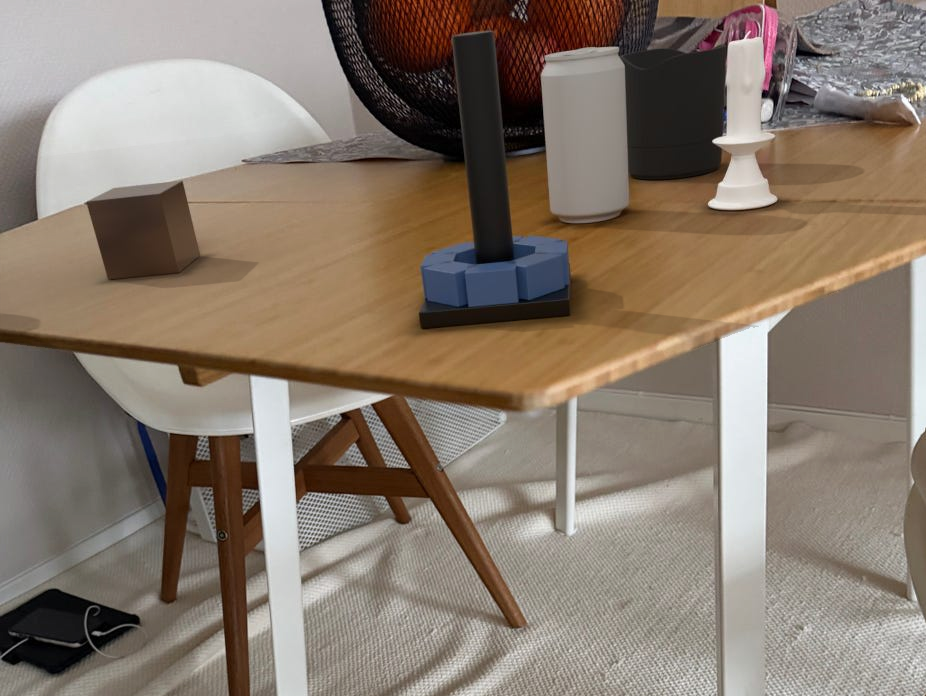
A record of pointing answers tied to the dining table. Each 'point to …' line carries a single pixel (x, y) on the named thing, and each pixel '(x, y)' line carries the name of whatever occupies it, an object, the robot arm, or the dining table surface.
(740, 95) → the candle
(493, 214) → the post stand
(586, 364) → the dining table surface
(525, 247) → the ring
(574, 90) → the beverage can
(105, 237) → the brown matte cube
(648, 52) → the pen holder
